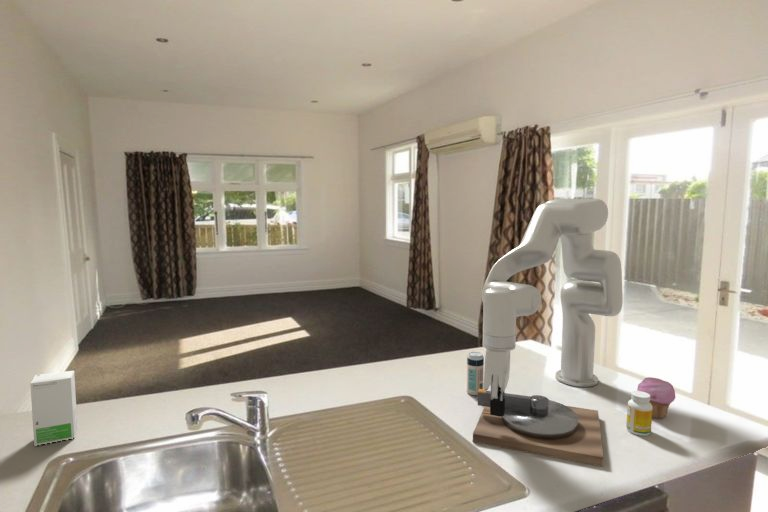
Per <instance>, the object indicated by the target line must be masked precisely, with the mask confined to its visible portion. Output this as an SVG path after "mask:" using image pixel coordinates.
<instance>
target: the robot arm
mask: <svg viewBox="0 0 768 512" xmlns="http://www.w3.org/2000/svg"><path fill="white" fill-rule="evenodd" d="M608 219H609V210H608V206H607V203H606V202H605V201H604V200H602V199H600V198H556V199H555V198H554V199H550V200H548V201H546V202H544V203H542V204H539V205H538V206H537V207H536V208H535V209H534V212H533V214H532V217H531V219H530V221H529V223H528V225H527V228H526V230H525V232H524V234H523V237H522V239H521V242H520V243H519V244H518V246H517V247H515V248H513V249H511V250H510V251H509V252H507V253H505V255H503V256H502V257H501V258H499V259H498V260H497V261H496V262H495V263H494V264H493V265H492V266H491V269H490V271H489V273H488V275H487V277H486V279H485V281H484V284H483V287H482V291H481V301H482V303H483V304H482V306H483V307H482V310H483V312H482V347H483V348H484V349H485V355H484V356H485V357H484V374H483V389H484V390H487V391H489V388H490V391H491V399H490V414H491V415H494V416H500V417H503V416H504V413H505V398H504V396H505V393H506V389H507V386H508V383H509V380H510V371H511V370H510V369H511V351H513V350H515V349H516V342H517V341H516V340H517V339H516V338H517V337H516V335H517V317H527V316H532V315H533V314H535V313H536V312H538V310H539V309H540V307H541V305H542V301H543V300H542V295H541V291H540V290H539V289H538V288H537V287H535V286H533V285H531V284H524V283H518V282H511V281H508V280H509V279H510V278H511V277H513V276H514V275H516V274H518V273H520V272H522V271H525V270H529V269H532V268H535V267H538V266H542V265H544V264H546V263H548V262H549V261H551V259H552V258H553V255H554V252H555V250H556V248H557V245H558V243H559V240H560V243H561V245H560V246H561V257H562V266H563V273H564V275H565V276H566V277H568V278H569V279H572V281H567V282H566V283H564V284H563V285H562V287H561V289H560V294H559V297H560V303H561V310H562V312H561V313H562V331H561V353H560V354H561V358H560V369H559V370H557V371H556V372H555V375H554V376H555V378H556V380H557V381H559V382H560V383H562V384H565V385H568V386H573V387H580V388H581V387H583V388H587V387H588V388H589V387H590V388H591V387H593V386H596V385H598V384H599V377H598V376H597V375H595V374H594V367H595V364H594V362H595V346H596V345H595V344H596V325H595V322H594V320H593V318H592V317H591V315H597V316H603V317H604V316H605V317H616V316H618V315H619V314H620V312H621V310H622V307H623V303H624V302H623V299H624V298H623V274H622V273H623V272H622V271H623V270H622V262H621V258H620V257H619V254H618V253H616V252H614V251H611V250H604V249H594V248H593V241H592V234H593V233H595V232H597V231H599V230H601V229H603V227H604V226H605V225H606V223H607V221H608Z"/></svg>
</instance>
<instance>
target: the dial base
mask: <svg viewBox="0 0 768 512" xmlns="http://www.w3.org/2000/svg"><path fill="white" fill-rule="evenodd" d="M566 406H567V407H569V408H570V409H572V410H573V411H574V412H575V413H576V415H577V416H578V429H577V431H576V432H575V433H574V434H572V435H570V436H568V437H564V438H558V439H543V438H536V437H531V436H527V435H524V434H521V433H519V432H516V431H514V430H512V429H511V428H509V427H508V426H507V425H506V424H505V423H504V422H503V421H502V418H501V417H500V416H494V415H491V414H490V407H486V406H483V410H482V412H481V413H480V415H479V418H478V421H477V423H476V425H475V428H474V430H473V432H472V442H474V443H477V444H478V443H479V444H483V445H487V446H494V447H500V448H504V449H510V450H514V451H515V450H516V451H520V452H525V453H530V454H531V453H532V454H536V455H541V456H547V457H550V458H551V457H552V458H557V459H561V460H562V459H563V460H565V461H566V460H567V461H573V462H576V463H577V462H579V463H583V464H588V465H592V466H593V465H594V466H599V467H604V452H603V451H604V450H603V444H602V434H601V433H602V432H601V427H600V426H601V425H600V416H599V410H597V409H590V408H583V407H576V406H570V405H566Z"/></svg>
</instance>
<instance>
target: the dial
mask: <svg viewBox="0 0 768 512" xmlns="http://www.w3.org/2000/svg"><path fill="white" fill-rule="evenodd" d="M504 398H505V413H504V416H503V417H501V418H502V421H503V422H504V423H505V424H506V425H507V426H508V427H509V428H511V429H512V430H514V431H516V432H519V433H521V434H524V435H527V436H531V437H536V438H543V439H558V438H564V437H568V436H570V435H572V434H574V433H575V432H576V431H577V429H578V416H577V415H576V413H575V412H574V411H573V410H572V409H570V408H569V407H567V406H568V405H565V404H562V403H560V402H559V401H558V402H557V401H555V400H550V399H549V398H548V397H547V396H544V395H538V394H536V395H530V396H529V395H521V394H515V393H507V392H505V396H504ZM490 399H491V390H484V389H479V390H478V396H477V406H479V407H485V406H486V407H490Z"/></svg>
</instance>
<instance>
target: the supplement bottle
mask: <svg viewBox="0 0 768 512" xmlns="http://www.w3.org/2000/svg"><path fill="white" fill-rule="evenodd" d="M630 398H631V399H629V400H628V401H627V407H626V408H627V409H626V410H627V411H626V422H625V423H626V424H625V425H626V426H625V427H626V430H627V431H628V432H629V433H631V434H633V435H634V436H635V435H636V436H641V437H646V436H649V435H650V434H652V422H653V418H652V410H653V407H652V405H651V403H650V402H649V401H650V395H649V394H648V393H646V392H642V391H637V390H634V391H632V392H631V397H630Z"/></svg>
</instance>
